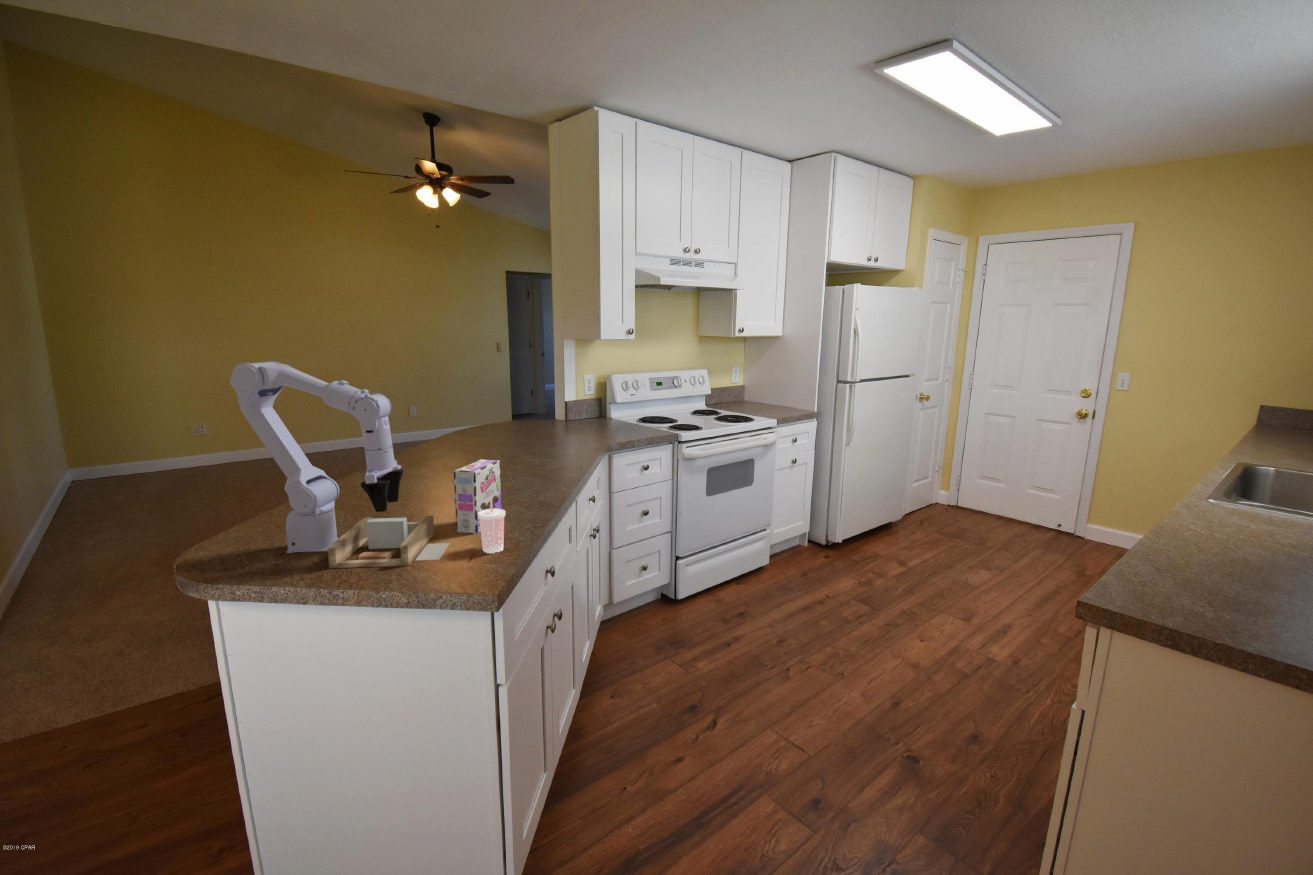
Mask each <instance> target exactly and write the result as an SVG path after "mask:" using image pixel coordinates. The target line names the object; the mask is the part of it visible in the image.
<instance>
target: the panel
mask: <svg viewBox="0 0 1313 875" xmlns="http://www.w3.org/2000/svg"><path fill="white" fill-rule="evenodd" d="M407 522H408V517H389V518H388V517H386V518H385V517H380V518H376V517H375V518H372V517H371V519H369V520H368V521H367V522H366V523H367V535H368V540H367V546H368V550H379V549H400V545H401V544H402V543H403V542H404V541H405V540H406V538H407V537H408V529H407Z"/></svg>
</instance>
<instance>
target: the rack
mask: <svg viewBox="0 0 1313 875" xmlns="http://www.w3.org/2000/svg"><path fill="white" fill-rule="evenodd" d="M369 519H372V517H371V516H370V517H369V516H367V517H365V516H364V518H362V519H361V520H359V521H358V522H357V523H356V524H355V525H353V526H352V527H351V528H350V529H348V530H347V531H346V532H345V533H344V534H342V535H341V536H340V537H339V539H338V540H336V541H335V542H334V543H333V544H331V545H330V546H329V547H328V548H327V549H328V551H327V557H328V566H329V567H328V568H329V569H342V568H344V569H345V568H370V567H371V568H374V567H399V566H401V567H402V566H404V567H405V566H410V565H411V564H412V562H413V561H415V559H416V558H417V557H418V556H419V554H420V553H421V552H422V550H423V549H424V548H425V547H426V546H425V545H427V544H428V542H429V541H430V539H431V538H432V536H433V535H434V534H435V524H434V516H433V515H426V516H425V517H424V519H422V521H407V529H408V537H407V538H406V540H405V541H404V542H403V543H402V544H401V545H400V548H399V549H400V558H390V559H372V560H358V559H350V560H349V559H348V558H350V557H351V555H353V554H354V553H355V552H356V551H357V550H358V549H359V548H360V547H361V546H363V544H364V543H366V542H368V535H367V523H366V522H367V521H368V520H369Z"/></svg>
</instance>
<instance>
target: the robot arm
mask: <svg viewBox="0 0 1313 875" xmlns="http://www.w3.org/2000/svg"><path fill="white" fill-rule="evenodd" d="M229 384H230V386H231V387H232V389H233V390H234V392H235V393H236V397H237V401H238V405H239V408H240V412H241V413H242V415H243V416H244V418H245V419H246V421H247V422H248V423H249V425H250V426H251V428H252V429H253V431H254V432H255V433H256V435H257V437H258V438H259V439H260V441H261V442H262V444H263V445H264V446H265V448H266V449H267V451H268V452H269V454H270V455H271V457H272V459H273V460H274V461H275V462H276V464H277V465H278V467H279V468H280V469H281V472H283V474H284V476H285V477H286V478H287V479H286V482H285V485H284V491H285V492H286V494H287V497H288V502H289V505H290V507H291V508H292V510H291V511H290V512H289V513H288V515H287V516H286V520H285V532H286V533H285V534H286V543H287V551H286V554H293V553H299V552H300V553H306V552H308V553H309V552H312V553H313V552H328V549H327V548H328V547H329V546H330V545H331V544H333V543H334V542H335V541H336V540H338V539H339V538H340V537H339V538H338V531H337V522H336V511H335V505H336V504H335V503H336V500H337V499H338V498H339V496H340V487H339V484H338V483H337V482H336V481H335V480H334V479H333V478H331V477H329V475H328V474H327V473H326V472H325V470H322V469H321V468H319V467H316V466H314V465H312V464H311V461H310V460H309V458H308V457H307V456H306V454H305V453H304V452H303V450H302V449H301V447H300V445H299V443H298V442H297V441H296V440H295V438H294V437H293V434H291V433H290V431H289V429H288V428H287V426H286V425H285V423H284V422H283V420H282V419H281V417H280V416H279V415H278V414H277V412H276V410H275V409H274V407H273V406H274V404H275V400H276V399H277V397H278V396H279V394H280V393H281V392H282V390H283V389H284V388H285V386H286V387H289V388H293V389H296V390H298V391H302V392H306V393H309V394H311V395H314V396H318V397H320V398H322V400H323V402H324V404H325V405H327V406H329V407H331V408H335V409H337V410H340V411H342V412H345V413H348V414H350V415H353V416H354V417H355V419H356V420H357V421H358V422H359V427H360V428H361V437H362V442H363V448H364V454H365V455H364V456H365V463H366V473H365V475H364V479H365V480H364V481H362V482H361V483H360V487H361V488H362V490H363V491H364V492H365V493H366V494H367V496H368V497H369V499H370V501H371V504H372V507H373V509H374V510H375V512H376V513H382V512H386V511H387V510H388V503H396V502H399V496H400V484H401V480H402V479H403V475H404V469H402V466H401V464H398V461H397V460H396V459H395V455H394V454H395V453H394V446H393V441H392V432H391V425H390V418H389V415H390V414H391V413H392V412H391V411H392V402H391V400H390V399H389V398H388V397H387V396H386V395H383V394H382V393H381V392H376V393H369V392H370V391H369V390H368V389H365V388H364V389H363V388H362V389H360V388H357V387H355V386H352V385H349V381H346V380H339V381H338V380H334V381H332V382H330V383H329V382H327V381H324V380H322V379H319V378H317V377H315V376H313V375H310V374H308V373H306V372H303V371H300V370H298V369H296V368H294V367H292V366H290V365H289V364H284V363H281V362H279V361H275V360H270V361H269V360H267V361H265V362H251V363H249V362H241V363H239V364H237V365H236V366H235V367H234V368H233V369H232V372H231V376H230V379H229Z"/></svg>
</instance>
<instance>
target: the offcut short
mask: <svg viewBox="0 0 1313 875" xmlns="http://www.w3.org/2000/svg"><path fill="white" fill-rule="evenodd" d="M372 559H392V552H391V551H364V552H361V553H360V554H358V555H357V560H372Z"/></svg>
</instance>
